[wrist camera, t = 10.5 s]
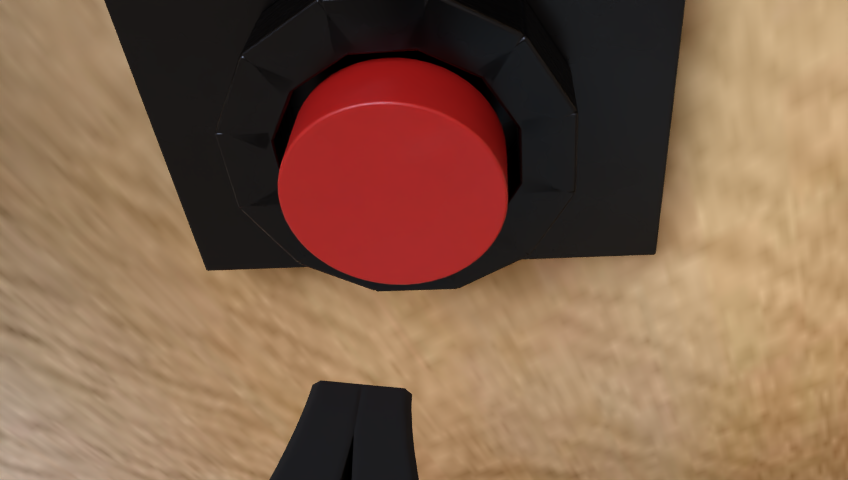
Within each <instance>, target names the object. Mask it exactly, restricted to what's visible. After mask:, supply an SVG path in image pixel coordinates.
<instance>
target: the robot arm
mask: <svg viewBox="0 0 848 480" xmlns="http://www.w3.org/2000/svg"><path fill="white" fill-rule="evenodd" d="M411 403H412V394H411V393H410V392H408V391H407V390H406V389H405V388H394V387H383V386H373V385H362V384H352V383H341V382H331V381H319V382H317V383H315V384H313V385H312V388H311V391H310V394H309V397H308V400H307V402H306V405H305V407H304V410H303V412H302V415H301V417H300V419H299V422H298V424H297V426H296V428H295V431H294V433H293V435H292V437H291V439H290V441H289V443H288V445H287V447H286V449H285V451H284V453H283V455H282V457H281V459H280V461H279V463H278V465H277V467H276V469H275V471H274V473H273V474H272V476H271V478H270V480H419V478H418V472H417V465H416V458H415V451H414V442H413V432H412V412H411Z"/></svg>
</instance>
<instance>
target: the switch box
mask: <svg viewBox="0 0 848 480" xmlns="http://www.w3.org/2000/svg"><path fill="white" fill-rule="evenodd" d="M104 1H105V3H106V6H107V8H108V11H109V14H110V16H111V19H112V22H113V24H114V27H115V30H116V32H117V35H118V38H119V40H120V43H121V45H122V48H123V51H124V53H125V56H126V59H127V61H128V64H129V67H130V69H131V72H132V75H133V77H134V80H135V82H136V85H137V88H138V90H139V93H140V96H141V98H142V101H143V104H144V106H145V109H146V112H147V114H148V117H149V119H150V122H151V125H152V127H153V130H154V133H155V135H156V138H157V141H158V143H159V146H160V149H161V151H162V154H163V156H164V159H165V162H166V164H167V167H168V170H169V172H170V175H171V178H172V180H173V183H174V185H175V188H176V191H177V193H178V196H179V199H180V201H181V204H182V207H183V209H184V212H185V215H186V217H187V220H188V222H189V225H190V228H191V230H192V233H193V236H194V238H195V241H196V244H197V246H198V249H199V252H200V254H201V257H202V259H203V262H204V265H205V267H206V270H208V271H209V270H237V269H265V268H293V267H310V268H313V269H316V270H318V271H321V272H324V273H327V274H330V275H332V276H335V277H338V278H341V279H344V280H346V281H349V282H352V283H355V284H358V285H360V286H363V287H366V288H369V289H372V290H376V291H404V290H435V289H457V288H461V287H463V286H465V285H467V284H469V283H471V282H473V281H476V280H478V279H480V278H482V277H484V276H486V275H488V274H491V273H493V272H495V271H497V270H499V269H501V268H503V267H506V266H508V265H510V264H512V263H514V262H516V261H518V260H521V259H544V258H572V257H599V256H627V255H654V254H655V253H656V247H657V239H658V230H659V221H660V213H661V204H662V196H663V187H664V179H665V170H666V162H667V153H668V145H669V136H670V128H671V119H672V110H673V102H674V93H675V85H676V76H677V68H678V59H679V51H680V42H681V34H682V25H683V17H684V8H685V0H104ZM399 57H400V58H409V59H417V60H421V61H425V62H429V63H432V64H435V65H438V66H440V67H443V68H445V69H447V70H449V71H451V72H453V73H455V74H457V75H459V76H460V77H462V78H463V79H465V80H466V81H468V82H469V83H470V84H471V85H472V86H474V87H475V88H476V89H477V90H478V91H479V92H480V93H481V94H482V95H483V96H484V97H485V98H486V100H487V101H488V102H489V103H490V105H491V106H492V108H493V109H494V111H495V112H496V114H497V116H498V118H499V120H500V123H501V125H502V128H503V131H504V135H505V140H506V148H507V173H508V209H507V214H506V218H505V221H504V224H503V226H502V229H501V231H500V233H499V234H498V236H497V238H496V240H495V241H494V242H493V244H492V245H491V246H490V247H489V249H488V250H487V251H486V252H485V253H484V254H483V255H482V256H481V257H480V258H479V259H478V260H476V261H475V262H473V263H472V264H471V265H469V266H468V267H466V268H464V269H462V270H461V271H459V272H457V273H455V274H452V275H450V276H447V277H445V278H442V279H438V280H435V281H431V282H425V283H420V284H408V285H392V284H383V283H376V282H371V281H366V280H362V279H359V278H356V277H353V276H350V275H348V274H345V273H343V272H340V271H338V270H336V269H334V268H333V267H331V266H329V265H327V264H326V263H324V262H323V261H321V260H320V259H318V258H317V257H316V256H314V255H313V254H312V253H311V252H310V251H309V250H307V249H306V248H305V247H304V245H303V244H302V243H301V242H300V241H299V240H298V239H297V237H296V236H295V235H294V233H293V232H292V230H291V229H290V227H289V225H288V223H287V221H286V220H285V217H284V215H283V212H282V209H281V206H280V202H279V196H278V175H279V169H280V166H281V162H282V159H283V156H284V153H285V150H286V147H287V144H288V141H289V138H290V135H291V132H292V129H293V126H294V123H295V120H296V117H297V114H298V112H299V110H300V108H301V106H302V104H303V102H304V101H305V100H306V98H307V97H308V95H309V94H310V93H311V92H312V91H313V90H314V89H315V88H316V87H317V86H318V85H319V84H320V83H321V82H322V81H323V80H325V79H326V78H327V77H329V76H330V75H332V74H334V73H335V72H337V71H339V70H341V69H343V68H345V67H348V66H350V65H353V64H355V63H358V62H362V61H366V60H370V59H378V58H399Z"/></svg>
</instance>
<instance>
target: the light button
mask: <svg viewBox="0 0 848 480" xmlns="http://www.w3.org/2000/svg"><path fill="white" fill-rule="evenodd" d="M278 196H279V202H280V206H281V209H282V212H283V215H284V217H285V220H286V221H287V223H288V225H289V227H290V229H291V230H292V232H293V233H294V235H295V236H296V237H297V239H298V240H299V241H300V242H301V243H302V244H303V245H304V247H305V248H306V249H307V250H309V251H310V252H311V253H312V254H313V255H314V256H316V257H317V258H318V259H320V260H321V261H323V262H324V263H326V264H327V265H329V266H331V267H333V268H334V269H336V270H338V271H340V272H343V273H345V274H348V275H350V276H353V277H356V278H359V279H362V280H366V281H371V282H376V283H383V284H392V285H408V284H420V283H425V282H431V281H435V280H438V279H442V278H445V277H447V276H450V275H452V274H455V273H457V272H459V271H461V270H462V269H464V268H466V267H468V266H469V265H471V264H472V263H473V262H475V261H476V260H478V259H479V258H480V257H481V256H482V255H483V254H484V253H485V252H486V251H487V250H488V249H489V247H490V246H491V245H492V244H493V242H494V241H495V240H496V238H497V236H498V234H499V233H500V231H501V229H502V226H503V224H504V221H505V218H506V214H507V209H508V173H507V148H506V140H505V135H504V131H503V128H502V125H501V123H500V120H499V118H498V116H497V114H496V112H495V111H494V109H493V108H492V106H491V105H490V103H489V102H488V101H487V100H486V98H485V97H484V96H483V95H482V94H481V93H480V92H479V91H478V90H477V89H476V88H475V87H474V86H472V85H471V84H470V83H469V82H468V81H466V80H465V79H463V78H462V77H460V76H459V75H457V74H455V73H453V72H451V71H449V70H447V69H445V68H443V67H440V66H438V65H435V64H432V63H429V62H425V61H421V60H417V59H409V58H400V57H399V58H378V59H370V60H366V61H362V62H358V63H355V64H353V65H350V66H348V67H345V68H343V69H341V70H339V71H337V72H335V73H334V74H332V75H330V76H329V77H327V78H326V79H325V80H323V81H322V82H321V83H320V84H319V85H318V86H317V87H316V88H315V89H314V90H313V91H312V92H311V93H310V94H309V95H308V97H307V98H306V100H305V101H304V102H303V104H302V106H301V108H300V110H299V112H298V114H297V117H296V120H295V123H294V126H293V129H292V132H291V135H290V138H289V141H288V144H287V147H286V150H285V153H284V156H283V159H282V162H281V166H280V169H279V175H278Z"/></svg>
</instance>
